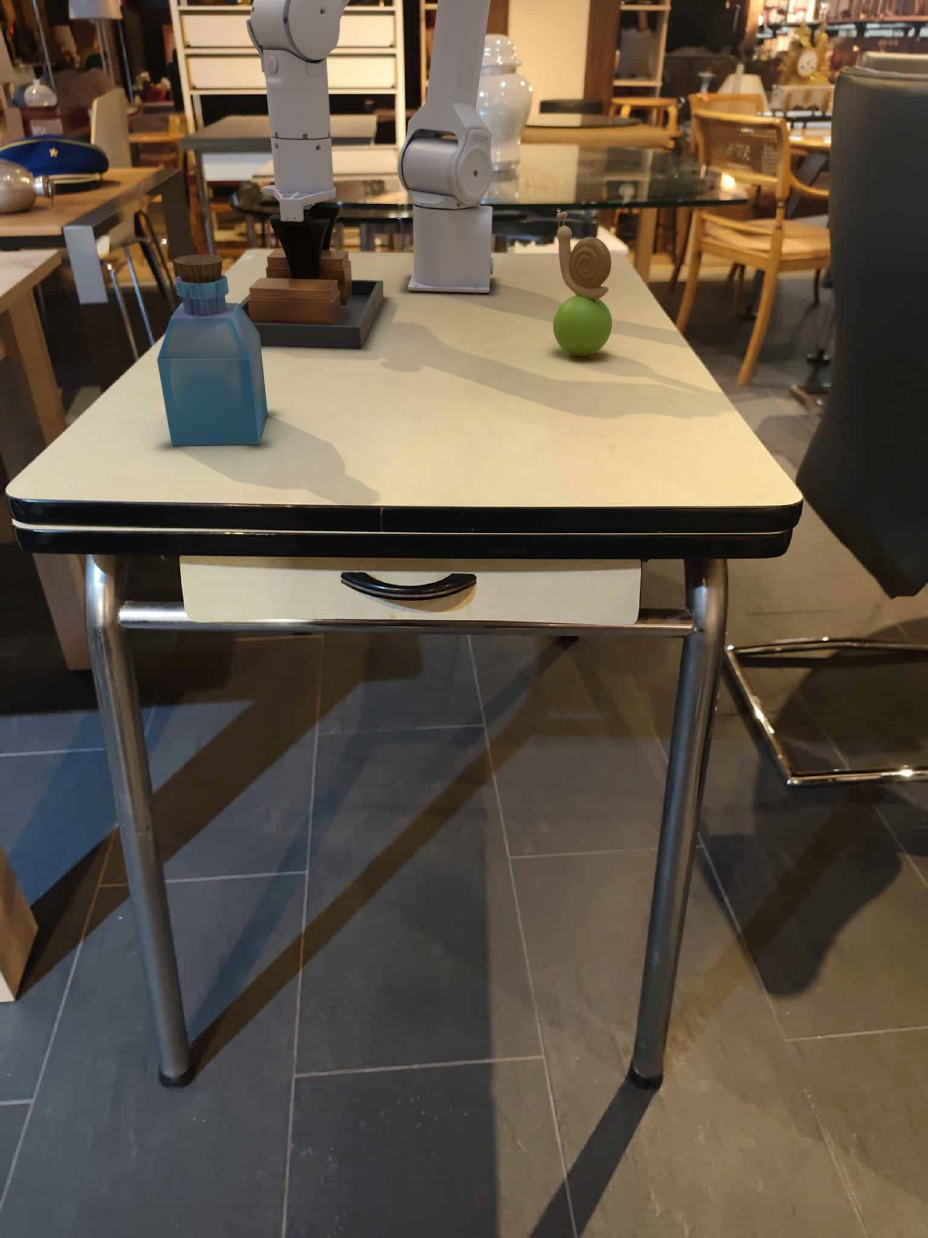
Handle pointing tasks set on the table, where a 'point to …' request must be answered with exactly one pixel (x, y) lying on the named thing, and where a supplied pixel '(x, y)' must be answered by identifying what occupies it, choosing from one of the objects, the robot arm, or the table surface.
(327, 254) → the brown lidded wooden box
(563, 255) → the snail figurine
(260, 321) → the brown wooden block
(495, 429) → the table surface
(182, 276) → the perfume bottle
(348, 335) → the tray
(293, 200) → the robot arm
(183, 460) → the table surface
